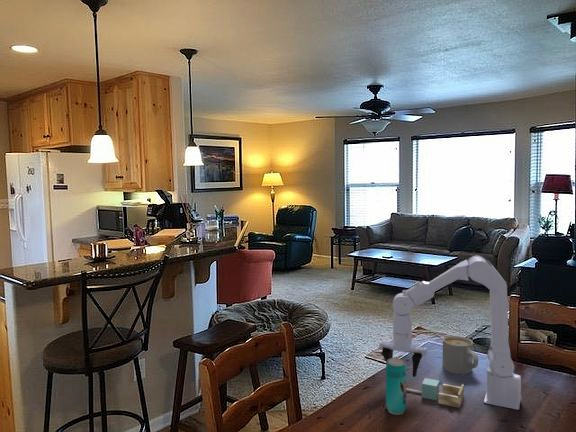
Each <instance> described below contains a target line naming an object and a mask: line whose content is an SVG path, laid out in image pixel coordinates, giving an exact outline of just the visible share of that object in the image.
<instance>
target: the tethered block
mask: <svg viewBox="0 0 576 432" xmlns="http://www.w3.org/2000/svg"><path fill="white" fill-rule="evenodd" d="M406 392H410V393H415V394H416V393H417V394H421V398H423V399H428V400H433V401H437V400H438V397H439V393H440V380H438V379H432V378H428V377H425V378H423V381H422V382H421V390H417V389H412V388H407V387H406Z"/></svg>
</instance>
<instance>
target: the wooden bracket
mask: <svg viewBox="0 0 576 432" xmlns="http://www.w3.org/2000/svg"><path fill="white" fill-rule="evenodd" d="M464 396H465V385H464V383H462V384H461V386H457V385H453V384H452V385H451V384H447V383H443V384H442V392H439V396H438V398H437V400H438V401H437V402H438V404H441V405H444V406H449V407H455V408H461V405H462V403H463V401H464V398H465V397H464Z"/></svg>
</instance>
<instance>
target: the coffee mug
mask: <svg viewBox="0 0 576 432" xmlns="http://www.w3.org/2000/svg"><path fill="white" fill-rule="evenodd" d="M473 346H474V342H473V340H472V339H470V338H467V337H465V336H460V335H449V336H444V337H443V338H442V366H441V367H442V369H443V370H444V371H446V372H448V373H450V374H455V375H467V374H470V373H472V372H473V369H475V368H477V367H478V365H479V356H478V354H477V353H476V352H475V351H473V349H474V347H473Z"/></svg>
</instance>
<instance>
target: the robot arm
mask: <svg viewBox="0 0 576 432" xmlns="http://www.w3.org/2000/svg"><path fill="white" fill-rule="evenodd" d="M469 278H470V279H471V280H472V281H473V282H476V283H479V284H481V285H483V286H485V287H486V288H487V289H488V290H489V305H490V306H489V309H490V311H489V312H490V343H489V344H490V346H489V349H488V351H487V359H488V360H489V365H488V367H487V369H486V393H485V395H484V396H485V397H484V400H483V403H484V404H487V405H493V406H497V407H502V408H507V409H512V410H516V411H517V410H520V405H521V401H522V394H521V392H522V391H521V387H522V384H521V383H522V381H521V380H522V375H519V374H517V373H514V370H515V363H514V361H513V360H512V358H511V357H512V356H511V349H510V345H509V344H510V343H509V317H508V316H509V314H508V313H509V311H508V285H507V281H505V279H504V278H503V277H502V275H501V274H500V273H499V271H498V270H497V269H496V268H495V267H494V265H493V264H492V263H491V262H490V261H489V260H487V259H486V258H485V257H483V256H481V255H473V256H471V257H469V258H468V259H465V260H463V261H460V262H459V263H457V264H456V265H453V266H452V267H451V268H449V269H448V270H446V271H444V272H443V273H441V274H439V275H438V276H437V277H434V278H433V279H432V280H430V281H427V280H426V281H425V280H422V281H418V280H417V281H416V282H415V284H414V285H413V286H412V287H409V288H408V289H404V290H402V292H400V293H397V294H396V295H395V296H394V298H393V299H392V305H391V306H392V309H393V312H392V315H393V317H392V341H382V340H380V342H379V345H378V346H379V347H378V348H379V350H382V351H381V356H383V358H384V361H385V362H386V363H385V364H387V360H388V359H390V358H394V357H393V356H394V351H397V352H402V353H410V354H412V356H411V362H412V378H416V376H417V373H418V368H419V365H420V362H421V360H422V358H423V357H426V355H427V347H422V346H420V345H415V344H412V341H413V340H412V338H413V336H412V335H413V333H412V326H413V325H412V323H413V322H412V321H413V320H412V315H411V314H412V313H411V312H412V309H413V308H417V307H418V306H420V305H421V304H424V303H426V302H427V301H428V300H431V299H432V298H434V296H435V292H436V291H438V290H440V289H442V288H445V287H446V286H448V285H450V284H452V283H454V282H456V281H457V280H460V281H461V280H462V281H469Z"/></svg>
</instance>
